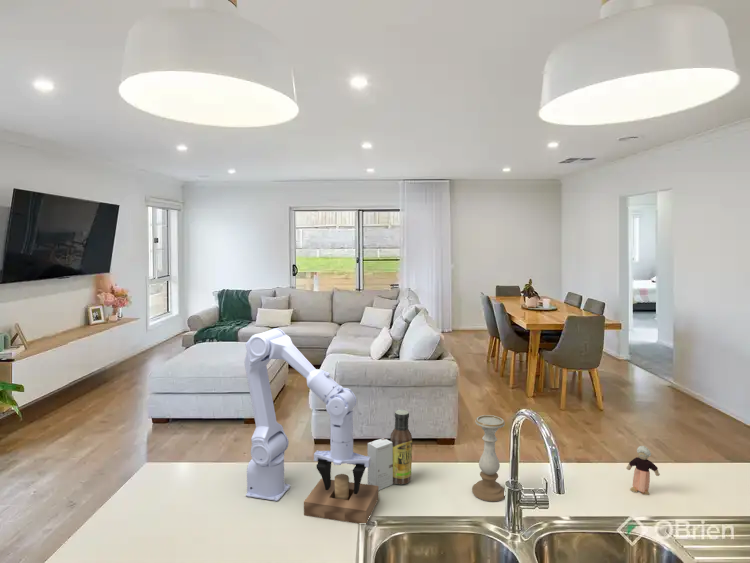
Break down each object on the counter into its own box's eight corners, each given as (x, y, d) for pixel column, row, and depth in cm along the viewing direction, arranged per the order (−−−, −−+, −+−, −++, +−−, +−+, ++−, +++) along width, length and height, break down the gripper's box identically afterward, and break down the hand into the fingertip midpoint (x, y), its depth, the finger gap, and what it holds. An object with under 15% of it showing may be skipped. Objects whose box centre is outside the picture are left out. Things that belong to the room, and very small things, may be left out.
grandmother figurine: (626, 492, 128) (628, 446, 127) (625, 485, 132) (627, 441, 131) (659, 498, 125) (661, 451, 124) (657, 491, 129) (659, 445, 128)
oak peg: (332, 509, 121) (332, 479, 120) (338, 502, 124) (338, 472, 123) (345, 512, 119) (345, 481, 119) (351, 505, 123) (351, 475, 122)
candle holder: (512, 498, 126) (514, 423, 124) (483, 504, 123) (485, 428, 121) (493, 482, 134) (494, 412, 132) (465, 488, 131) (466, 416, 129)
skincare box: (376, 491, 129) (376, 448, 128) (366, 485, 133) (366, 442, 132) (394, 484, 133) (393, 442, 132) (383, 478, 136) (383, 437, 135)
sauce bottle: (398, 488, 131) (398, 417, 129) (384, 479, 136) (384, 411, 134) (416, 481, 135) (416, 412, 133) (402, 472, 140) (402, 406, 138)
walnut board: (303, 515, 118) (303, 501, 118) (321, 490, 130) (321, 478, 129) (366, 524, 114) (366, 510, 114) (378, 498, 126) (378, 485, 125)
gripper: (308, 441, 118) (309, 494, 119) (365, 448, 115) (365, 502, 116) (319, 430, 125) (319, 480, 126) (372, 436, 121) (372, 487, 123)
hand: (342, 490), depth 121 cm, fingers open, 7 cm apart
